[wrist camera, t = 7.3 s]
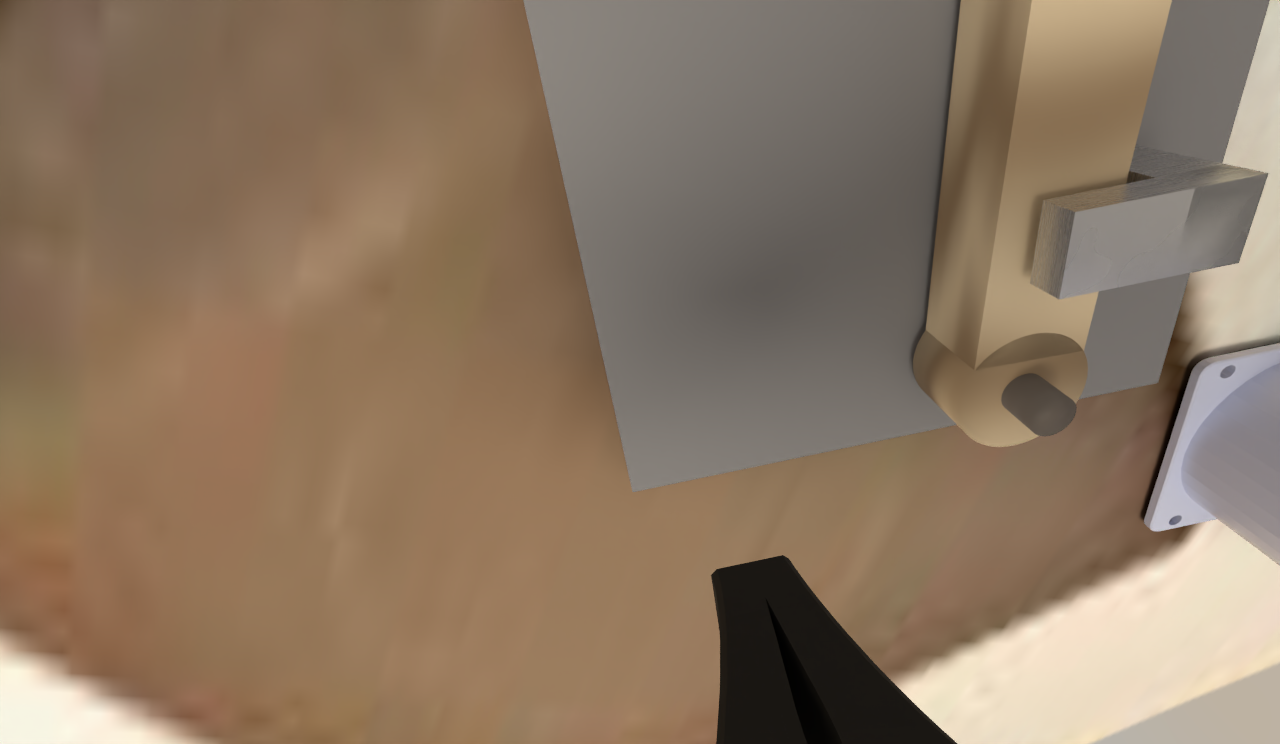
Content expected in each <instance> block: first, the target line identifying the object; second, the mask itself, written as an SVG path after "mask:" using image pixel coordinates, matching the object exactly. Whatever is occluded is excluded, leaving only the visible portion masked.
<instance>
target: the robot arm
mask: <svg viewBox="0 0 1280 744" xmlns="http://www.w3.org/2000/svg"><path fill="white" fill-rule="evenodd" d="M1214 519H1218V520H1220V521H1221V522H1222V523H1224V524H1225V525H1226V526H1228V527H1229V528H1230V529H1232V530H1233V531H1234V532H1236V533H1237V534H1238V535H1240V536H1241V537H1242V538H1244V539H1245V540H1246V541H1248V542H1249V543H1250V544H1252V545H1253V546H1254V547H1256V548H1257V549H1258V550H1260V551H1261V552H1262V553H1264V554H1265V555H1266V556H1268V557H1269V558H1270V559H1272V560H1273V561H1274V562H1276V563H1277V564H1278V565H1280V343H1277V344H1272V345H1267V346H1262V347H1258V348H1253V349H1248V350H1243V351H1238V352H1233V353H1229V354H1224V355H1219V356H1214V357H1209V358H1206V359H1204V360H1202V361H1200V362H1199V363H1197V364H1196V365H1195V367H1194V368H1193V370H1192V372H1191V375H1190V378H1189V381H1188V384H1187V387H1186V390H1185V393H1184V397H1183V400H1182V403H1181V406H1180V409H1179V412H1178V415H1177V418H1176V422H1175V425H1174V428H1173V431H1172V434H1171V437H1170V440H1169V443H1168V447H1167V450H1166V453H1165V456H1164V459H1163V462H1162V465H1161V468H1160V471H1159V475H1158V478H1157V481H1156V484H1155V487H1154V490H1153V493H1152V496H1151V500H1150V503H1149V506H1148V509H1147V512H1146V515H1145V518H1144V523H1145V525H1146V526H1147V527H1149V528H1150V529H1151V530H1153V531H1163V530H1168V529H1172V528H1177V527H1182V526H1186V525H1191V524H1196V523H1200V522H1205V521H1210V520H1214ZM711 577H712V583H713V590H714V597H715V603H716V610H717V617H718V623H719V630H720V698H719V713H718V728H717V742H716V744H957V743H956V742H955V741H954V740H953V739H952V738H950V737H949V736H948V735H947V734H946V733H945V732H944V731H943V730H942V729H940V728H939V727H938V726H937V725H936V724H935V723H934V722H933V721H932V720H931V719H930V718H929V717H928V716H927V715H925V714H924V713H923V712H922V711H921V710H920V709H919V708H918V707H917V706H916V705H915V704H914V703H913V702H912V701H911V700H910V699H909V698H908V697H907V696H906V695H905V694H904V693H903V692H902V691H901V690H900V689H899V688H898V687H897V686H896V685H895V684H894V683H893V682H892V681H891V680H890V679H889V678H888V677H887V676H886V675H885V674H884V673H883V672H882V671H881V670H880V669H879V668H878V666H877V665H876V664H875V663H874V662H873V661H872V660H871V659H870V658H869V657H868V656H867V655H866V653H865V652H864V651H863V650H862V649H861V648H860V647H859V646H858V645H857V644H856V642H855V641H854V640H853V639H852V638H851V637H850V636H849V635H848V634H847V632H846V631H845V630H844V629H843V628H842V627H841V626H840V624H839V623H838V622H837V621H836V620H835V619H834V617H833V616H832V615H831V614H830V613H829V611H828V610H827V609H826V608H825V606H824V605H823V604H822V603H821V602H820V600H819V599H818V598H817V597H816V595H815V594H814V593H813V591H812V590H811V589H810V588H809V586H808V585H807V584H806V582H805V581H804V580H803V578H802V577H801V576H800V574H799V573H798V571H797V570H796V569H795V567H794V566H793V564H792V563H791V561H790V560H789V559H788V558H787V557H785V556H783V555H782V556H777V557H773V558H768V559H763V560H758V561H754V562H749V563H744V564H739V565H735V566H730V567H725V568H720V569H717V570H716V571H715V572H714V573H713V574H712V575H711Z"/></svg>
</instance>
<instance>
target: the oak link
mask: <svg viewBox="0 0 1280 744" xmlns="http://www.w3.org/2000/svg"><path fill="white" fill-rule="evenodd" d="M1171 2H1172V0H961V4H960V13H959V22H958V32H957V41H956V51H955V60H954V69H953V79H952V88H951V97H950V107H949V116H948V125H947V135H946V144H945V154H944V163H943V172H942V182H941V191H940V200H939V210H938V219H937V228H936V238H935V247H934V257H933V266H932V275H931V285H930V294H929V303H928V313H927V322H926V330H925V332H924V333H923V335H922V337H921V338H920V340H919V342H918V344H917V347H916V350H915V353H914V358H913V372H914V376H915V379H916V381H917V383H918V385H919V386H920V388H921V389H922V390H923V391H924V392H925V393H926V394H927V395H928V396H929V397H930V398H931V399H932V400H933V401H934V402H935V403H936V404H937V405H938V406H939V407H940V408H941V409H942V410H943V411H944V412H945V413H946V414H947V415H948V416H949V417H950V418H951V419H952V420H953V421H954V422H955V423H956V424H957V425H958V426H959V427H960V428H961V429H962V430H963V431H964V432H965V433H966V434H967V435H968V436H969V437H970V438H971V439H973V440H974V441H976V442H978V443H980V444H983V445H987V446H993V447H1006V446H1013V445H1017V444H1021V443H1024V442H1027V441H1030V440H1032V439H1034V438H1036V437H1038V436H1050V435H1054V434H1056V433H1058V432H1060V431H1062V430H1063V429H1064V428H1066V427H1067V426H1068V425H1069V424H1070V423H1071V421H1072V420H1073V418H1074V416H1075V413H1076V403H1077V401H1078V399H1079V398H1080V396H1081V394H1082V392H1083V389H1084V387H1085V384H1086V380H1087V375H1088V363H1087V358H1086V355H1085V353H1084V348H1085V344H1086V340H1087V336H1088V332H1089V328H1090V325H1091V321H1092V317H1093V313H1094V309H1095V305H1096V301H1097V297H1098V293H1099V291H1098V292H1093V293H1089V294H1084V295H1079V296H1074V297H1069V298H1064V299H1057V298H1055V297H1054V296H1052V295H1050V294H1048V293H1046V292H1045V291H1043V290H1041V289H1039V288H1037V287H1036V286H1034V285H1032V284H1030V279H1031V273H1032V267H1033V260H1034V254H1035V248H1036V241H1037V235H1038V229H1039V222H1040V216H1041V210H1042V203H1043V200H1047V199H1052V198H1057V197H1062V196H1067V195H1072V194H1077V193H1082V192H1087V191H1092V190H1097V189H1102V188H1107V187H1112V186H1117V185H1122V184H1126V181H1127V177H1128V173H1129V169H1130V165H1131V161H1132V157H1133V153H1134V149H1135V145H1136V142H1137V138H1138V134H1139V130H1140V126H1141V122H1142V118H1143V114H1144V110H1145V106H1146V102H1147V98H1148V94H1149V90H1150V86H1151V82H1152V78H1153V74H1154V70H1155V66H1156V62H1157V58H1158V54H1159V50H1160V46H1161V42H1162V38H1163V34H1164V30H1165V26H1166V22H1167V18H1168V14H1169V10H1170V6H1171Z"/></svg>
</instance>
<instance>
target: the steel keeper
mask: <svg viewBox="0 0 1280 744" xmlns="http://www.w3.org/2000/svg"><path fill="white" fill-rule="evenodd" d="M1267 176H1268V173H1264V172H1260V171H1255V170H1250V169H1246V168H1241V167H1236V166H1232V165H1227V164H1222V163H1218V162H1213V161H1208V160H1204V159H1199V158H1194V157H1190V156H1185V155H1180V154H1176V153H1171V152H1166V151H1162V150H1157V149H1152V148H1148V147H1143V146H1139V145H1135V149H1134V153H1133V157H1132V161H1131V165H1130V169H1129V173H1128V177H1127V181H1126V184H1122V185H1117V186H1112V187H1107V188H1102V189H1097V190H1092V191H1087V192H1082V193H1077V194H1072V195H1067V196H1062V197H1057V198H1052V199H1047V200H1043V203H1042V210H1041V216H1040V222H1039V229H1038V235H1037V241H1036V248H1035V254H1034V260H1033V267H1032V273H1031V279H1030V284H1032V285H1034V286H1036V287H1037V288H1039V289H1041V290H1043V291H1045V292H1046V293H1048V294H1050V295H1052V296H1054V297H1055V298H1057V299H1064V298H1069V297H1074V296H1079V295H1084V294H1089V293H1093V292H1098V291H1103V290H1108V289H1113V288H1118V287H1123V286H1128V285H1133V284H1137V283H1142V282H1147V281H1152V280H1157V279H1162V278H1167V277H1172V276H1177V275H1181V274H1186V273H1191V272H1196V271H1201V270H1206V269H1211V268H1216V267H1221V266H1226V265H1230V264H1235V263H1239V260H1240V257H1241V254H1242V251H1243V248H1244V245H1245V242H1246V239H1247V236H1248V233H1249V230H1250V227H1251V224H1252V221H1253V218H1254V215H1255V212H1256V209H1257V206H1258V203H1259V200H1260V197H1261V194H1262V191H1263V188H1264V185H1265V182H1266V179H1267Z"/></svg>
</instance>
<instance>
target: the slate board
mask: <svg viewBox="0 0 1280 744" xmlns="http://www.w3.org/2000/svg"><path fill="white" fill-rule="evenodd" d="M1269 1H1270V0H1172V2H1171V6H1170V10H1169V14H1168V18H1167V22H1166V26H1165V30H1164V34H1163V38H1162V42H1161V46H1160V50H1159V54H1158V58H1157V62H1156V66H1155V70H1154V74H1153V78H1152V82H1151V86H1150V90H1149V94H1148V98H1147V102H1146V106H1145V110H1144V114H1143V118H1142V122H1141V126H1140V130H1139V134H1138V138H1137V142H1136V145H1139V146H1143V147H1148V148H1152V149H1157V150H1162V151H1166V152H1171V153H1176V154H1180V155H1185V156H1190V157H1194V158H1199V159H1204V160H1208V161H1213V162H1218V163H1222V162H1223V158H1224V155H1225V151H1226V148H1227V144H1228V141H1229V138H1230V134H1231V131H1232V127H1233V124H1234V121H1235V117H1236V114H1237V110H1238V107H1239V103H1240V100H1241V97H1242V93H1243V90H1244V86H1245V83H1246V80H1247V76H1248V73H1249V69H1250V66H1251V62H1252V59H1253V56H1254V52H1255V49H1256V45H1257V42H1258V38H1259V35H1260V32H1261V28H1262V25H1263V21H1264V18H1265V15H1266V11H1267V8H1268V4H1269ZM960 4H961V0H524V5H525V9H526V14H527V18H528V23H529V27H530V32H531V36H532V41H533V45H534V50H535V54H536V59H537V63H538V68H539V72H540V77H541V81H542V86H543V90H544V95H545V99H546V104H547V108H548V113H549V117H550V122H551V126H552V131H553V135H554V140H555V144H556V149H557V153H558V158H559V162H560V167H561V171H562V176H563V181H564V185H565V190H566V194H567V199H568V203H569V208H570V212H571V217H572V221H573V226H574V230H575V235H576V239H577V244H578V248H579V253H580V257H581V262H582V266H583V271H584V275H585V280H586V284H587V289H588V293H589V298H590V302H591V307H592V311H593V316H594V320H595V325H596V329H597V334H598V338H599V343H600V347H601V352H602V356H603V361H604V365H605V370H606V374H607V379H608V383H609V388H610V392H611V397H612V401H613V406H614V410H615V415H616V419H617V424H618V428H619V433H620V437H621V442H622V446H623V451H624V455H625V460H626V464H627V469H628V473H629V478H630V482H631V487H632V491H633V492H636V491H641V490H646V489H650V488H655V487H660V486H665V485H670V484H674V483H679V482H684V481H689V480H694V479H698V478H703V477H708V476H713V475H718V474H722V473H727V472H732V471H737V470H742V469H746V468H751V467H756V466H761V465H766V464H770V463H775V462H780V461H785V460H790V459H794V458H799V457H804V456H809V455H814V454H818V453H823V452H828V451H833V450H838V449H842V448H847V447H852V446H857V445H862V444H866V443H871V442H876V441H881V440H886V439H890V438H895V437H900V436H905V435H910V434H914V433H919V432H924V431H929V430H934V429H938V428H943V427H948V426H953V425H957V424H956V423H955V422H954V421H953V420H952V419H951V418H950V417H949V416H948V415H947V414H946V413H945V412H944V411H943V410H942V409H941V408H940V407H939V406H938V405H937V404H936V403H935V402H934V401H933V400H932V399H931V398H930V397H929V396H928V395H927V394H926V393H925V392H924V391H923V390H922V389H921V388H920V386H919V385H918V383H917V381H916V379H915V376H914V372H913V358H914V353H915V350H916V347H917V344H918V342H919V340H920V338H921V337H922V335H923V333H924V332H925V330H926V322H927V313H928V303H929V294H930V285H931V275H932V266H933V257H934V247H935V238H936V228H937V219H938V210H939V200H940V191H941V182H942V172H943V163H944V154H945V144H946V135H947V125H948V116H949V107H950V97H951V88H952V79H953V69H954V60H955V51H956V41H957V32H958V22H959V13H960ZM1189 274H1190V273H1186V274H1181V275H1177V276H1172V277H1167V278H1162V279H1157V280H1152V281H1147V282H1142V283H1137V284H1133V285H1128V286H1123V287H1118V288H1113V289H1108V290H1103V291H1099V293H1098V297H1097V301H1096V305H1095V309H1094V313H1093V317H1092V321H1091V325H1090V328H1089V332H1088V336H1087V340H1086V344H1085V348H1084V353H1085V355H1086V358H1087V363H1088V375H1087V380H1086V384H1085V387H1084V389H1083V392H1082V394H1081V396H1080V398H1079V399H1082V398H1087V397H1092V396H1097V395H1102V394H1106V393H1111V392H1116V391H1121V390H1126V389H1130V388H1135V387H1140V386H1145V385H1150V384H1154V383H1158V381H1159V377H1160V374H1161V370H1162V367H1163V363H1164V360H1165V357H1166V353H1167V350H1168V346H1169V343H1170V339H1171V336H1172V333H1173V329H1174V326H1175V322H1176V319H1177V316H1178V312H1179V309H1180V305H1181V302H1182V298H1183V295H1184V292H1185V288H1186V285H1187V281H1188V278H1189Z"/></svg>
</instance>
